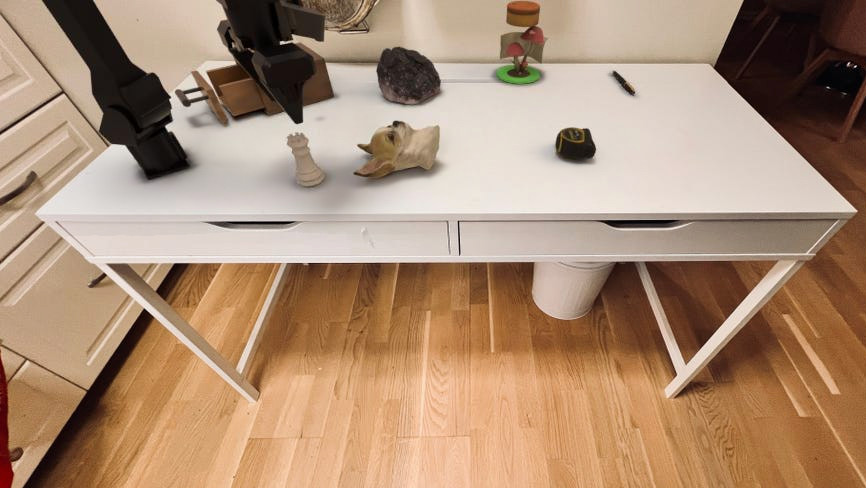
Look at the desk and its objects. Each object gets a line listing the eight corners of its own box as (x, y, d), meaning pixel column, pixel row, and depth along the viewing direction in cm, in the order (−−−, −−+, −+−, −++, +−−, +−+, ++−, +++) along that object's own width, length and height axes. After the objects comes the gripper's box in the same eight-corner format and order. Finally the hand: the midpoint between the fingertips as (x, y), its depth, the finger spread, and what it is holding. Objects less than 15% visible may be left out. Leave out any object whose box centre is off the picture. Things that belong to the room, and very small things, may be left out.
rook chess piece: (330, 180, 66) (316, 136, 60) (306, 191, 64) (289, 146, 58) (316, 169, 68) (301, 126, 62) (292, 180, 66) (274, 136, 60)
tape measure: (593, 164, 70) (598, 145, 68) (555, 162, 70) (559, 143, 68) (588, 144, 75) (592, 126, 72) (552, 143, 75) (555, 124, 72)
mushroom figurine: (547, 85, 93) (557, 12, 82) (495, 84, 93) (498, 11, 82) (543, 66, 101) (551, -2, 90) (494, 66, 101) (497, -3, 90)
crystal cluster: (451, 100, 89) (451, 51, 82) (397, 109, 83) (392, 57, 76) (422, 84, 97) (420, 39, 91) (371, 92, 91) (365, 44, 84)
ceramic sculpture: (440, 132, 59) (341, 143, 59) (446, 180, 66) (357, 191, 65) (436, 102, 67) (347, 111, 66) (442, 148, 73) (361, 157, 72)
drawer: (197, 129, 75) (179, 96, 71) (182, 108, 81) (165, 77, 76) (289, 104, 83) (278, 73, 78) (270, 86, 89) (258, 56, 84)
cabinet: (269, 115, 81) (253, 75, 75) (249, 95, 88) (232, 56, 82) (334, 97, 88) (324, 58, 82) (311, 79, 94) (300, 42, 88)
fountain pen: (609, 72, 99) (610, 66, 98) (613, 72, 99) (615, 66, 98) (631, 96, 90) (633, 90, 89) (636, 96, 90) (638, 89, 89)
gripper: (339, -13, 44) (367, 119, 56) (279, -40, 54) (313, 77, 65) (237, 2, 39) (290, 144, 51) (190, -30, 49) (244, 95, 61)
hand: (286, 111), depth 57 cm, fingers open, 9 cm apart
